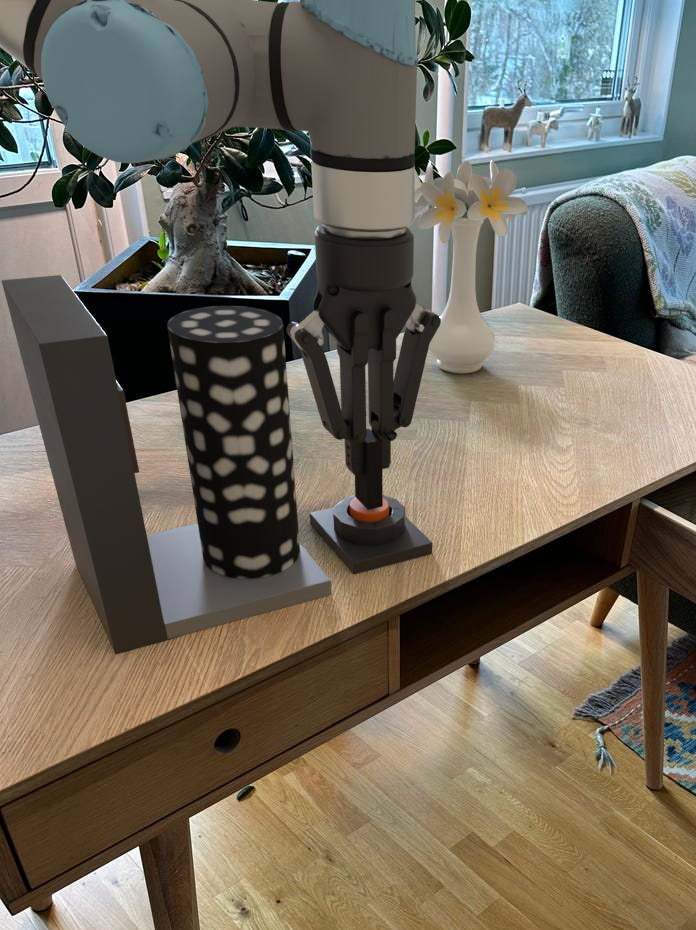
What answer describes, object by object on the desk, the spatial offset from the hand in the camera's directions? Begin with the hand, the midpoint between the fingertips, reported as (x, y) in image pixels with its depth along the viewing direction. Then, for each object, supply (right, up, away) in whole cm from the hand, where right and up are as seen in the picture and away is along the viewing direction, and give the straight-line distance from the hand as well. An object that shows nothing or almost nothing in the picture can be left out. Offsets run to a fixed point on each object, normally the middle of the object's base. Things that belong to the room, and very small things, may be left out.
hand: (368, 501), depth 81 cm
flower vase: (+7, +25, +39) cm, 47 cm away
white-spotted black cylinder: (-10, -5, -4) cm, 12 cm away
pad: (0, -3, +2) cm, 4 cm away
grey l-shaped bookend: (-14, -8, -5) cm, 16 cm away
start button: (0, -2, +1) cm, 2 cm away
